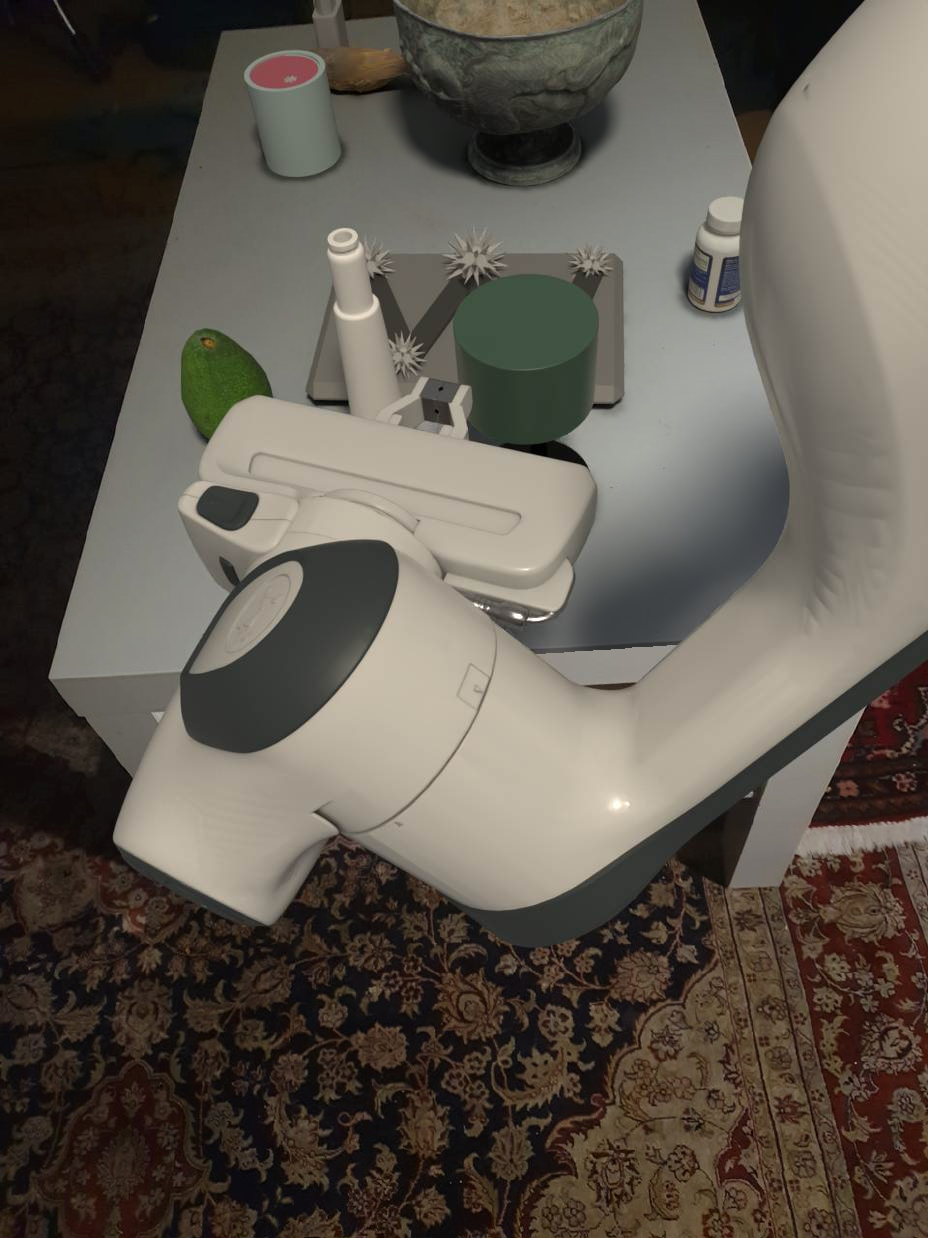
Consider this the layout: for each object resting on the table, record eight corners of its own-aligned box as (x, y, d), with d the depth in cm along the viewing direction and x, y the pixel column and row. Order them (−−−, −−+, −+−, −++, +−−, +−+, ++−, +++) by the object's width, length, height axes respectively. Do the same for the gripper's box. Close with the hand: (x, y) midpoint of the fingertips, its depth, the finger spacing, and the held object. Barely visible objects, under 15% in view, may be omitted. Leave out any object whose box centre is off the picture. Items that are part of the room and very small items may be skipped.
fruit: (198, 471, 85) (152, 370, 75) (203, 410, 89) (160, 308, 79) (283, 460, 85) (248, 359, 75) (284, 400, 89) (251, 297, 79)
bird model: (296, 81, 122) (287, 41, 118) (453, 73, 121) (450, 32, 116) (290, 105, 119) (281, 65, 115) (451, 97, 117) (448, 55, 113)
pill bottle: (745, 283, 94) (764, 194, 86) (736, 317, 91) (755, 229, 83) (692, 275, 95) (706, 187, 87) (681, 309, 92) (695, 221, 84)
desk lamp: (561, 585, 75) (566, 403, 58) (446, 556, 77) (420, 374, 61) (603, 470, 81) (619, 277, 65) (496, 447, 84) (485, 255, 67)
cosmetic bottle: (353, 478, 83) (300, 267, 65) (351, 430, 86) (300, 216, 68) (420, 470, 83) (386, 256, 65) (415, 422, 86) (381, 206, 68)
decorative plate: (306, 409, 88) (289, 351, 82) (342, 268, 100) (329, 208, 94) (623, 413, 85) (629, 352, 79) (622, 266, 97) (627, 204, 91)
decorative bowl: (682, 172, 104) (700, -29, 88) (480, 251, 100) (460, 55, 83) (566, 81, 119) (563, -107, 102) (386, 146, 114) (352, -39, 98)
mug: (336, 174, 110) (319, 88, 101) (260, 178, 110) (237, 93, 102) (348, 113, 117) (333, 28, 109) (277, 117, 118) (257, 32, 110)
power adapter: (351, 55, 125) (335, -46, 115) (344, 76, 122) (327, -26, 112) (329, 56, 126) (311, -45, 116) (322, 76, 123) (302, -25, 113)
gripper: (555, 599, 39) (636, 381, 46) (146, 494, 44) (273, 312, 51) (554, 672, 44) (626, 467, 51) (188, 572, 49) (298, 397, 56)
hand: (448, 389), depth 51 cm, fingers closed
